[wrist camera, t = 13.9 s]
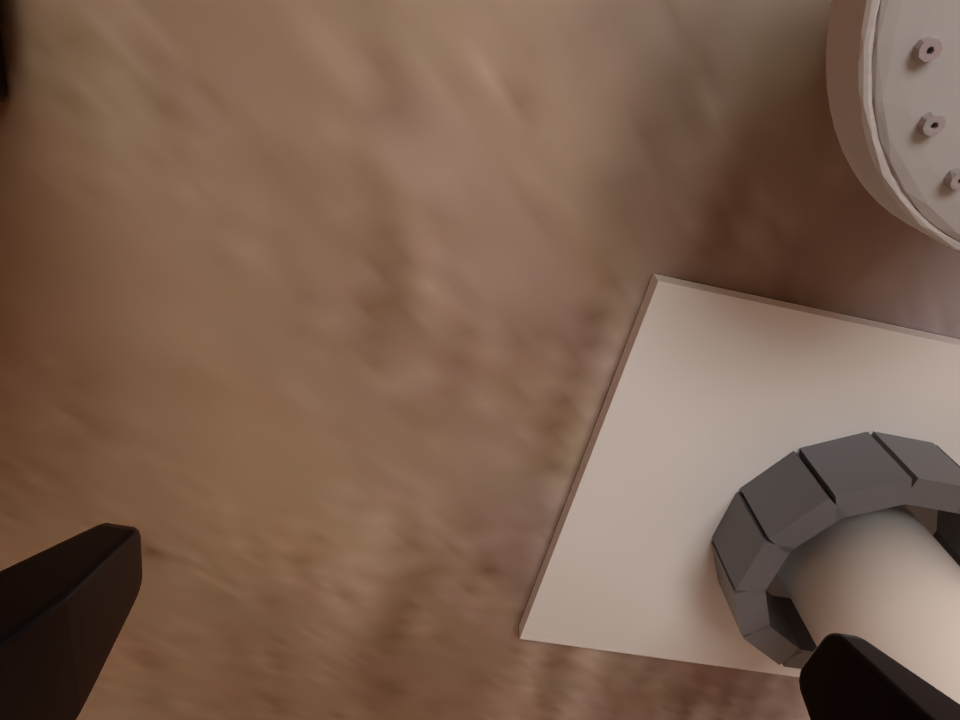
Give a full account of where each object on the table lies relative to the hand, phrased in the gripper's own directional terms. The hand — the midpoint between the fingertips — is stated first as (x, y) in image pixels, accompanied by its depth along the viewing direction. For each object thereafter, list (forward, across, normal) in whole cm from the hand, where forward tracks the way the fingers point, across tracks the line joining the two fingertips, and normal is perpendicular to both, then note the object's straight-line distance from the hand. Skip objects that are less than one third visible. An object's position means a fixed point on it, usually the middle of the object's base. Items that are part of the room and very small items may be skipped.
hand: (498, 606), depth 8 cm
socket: (+12, +15, -7) cm, 20 cm away
